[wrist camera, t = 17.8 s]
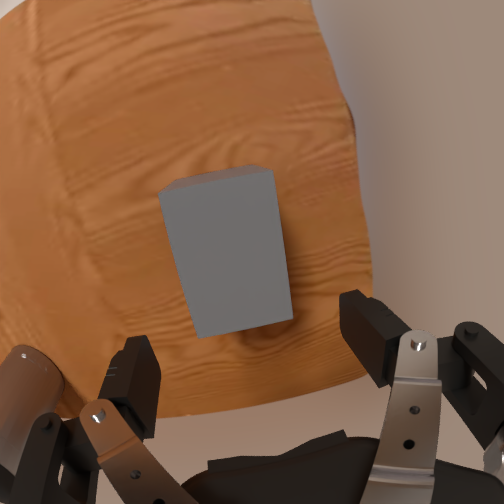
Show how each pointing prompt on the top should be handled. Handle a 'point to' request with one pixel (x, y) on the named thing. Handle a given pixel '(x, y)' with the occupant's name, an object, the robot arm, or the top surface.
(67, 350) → the top surface
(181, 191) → the gray tapered block
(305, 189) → the top surface
